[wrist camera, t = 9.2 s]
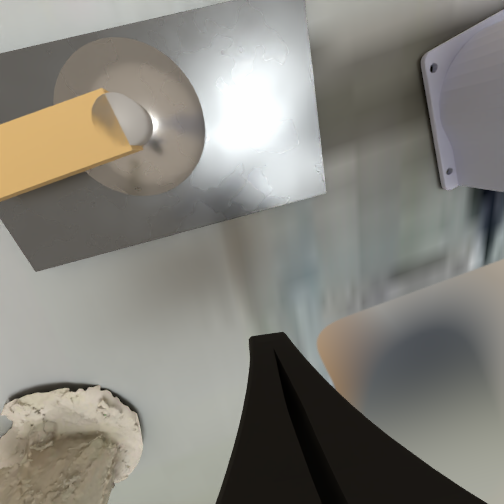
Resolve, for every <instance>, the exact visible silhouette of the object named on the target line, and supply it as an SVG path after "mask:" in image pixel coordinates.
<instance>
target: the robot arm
mask: <svg viewBox="0 0 504 504" xmlns="http://www.w3.org/2000/svg"><path fill="white" fill-rule="evenodd" d="M431 66H432V67H433V70H432V72H430V67H431ZM421 69H422V75H423V81H424V87H425V92H426V98H427V104H428V110H429V116H430V121H431V127H432V133H433V139H434V145H435V150H436V156H437V162H438V168H439V174H440V180H441V185H442V188H443V189H445V190H452V189H454V188H456V187H457V186H459V185H460V186H467V187H473V188H480V189H487V190H493V191H500V192H504V9H503V10H501V11H499V12H497V13H496V14H494V15H492V16H490V17H488V18H487V19H485V20H483V21H481V22H480V23H478V24H476V25H474V26H472V27H471V28H469V29H467V30H465V31H464V32H462V33H460V34H458V35H456V36H455V37H453V38H451V39H449V40H448V41H446V42H444V43H442V44H440V45H439V46H437V47H435V48H433V49H432V50H430V51H428V52H426V53H425V54H424V55H423V57H422V59H421ZM447 169H448V172H447V173H446V171H447ZM249 350H250V368H249V376H248V384H247V390H246V395H245V401H244V406H243V411H242V416H241V420H240V424H239V428H238V432H237V436H236V440H235V444H234V447H233V451H232V454H231V457H230V461H229V464H228V468H227V471H226V474H225V477H224V480H223V484H222V487H221V490H220V493H219V495H218V498H217V501H216V504H487V503H486V502H484V501H483V500H481V499H479V498H478V497H476V496H474V495H473V494H471V493H470V492H468V491H466V490H465V489H463V488H462V487H460V486H459V485H457V484H455V483H454V482H453V481H451V480H450V479H448V478H447V477H445V476H444V475H442V474H441V473H439V472H438V471H436V470H435V469H433V468H432V467H431V466H429V465H428V464H426V463H425V462H424V461H422V460H421V459H420V458H418V457H417V456H416V455H414V454H413V453H411V452H410V451H409V450H407V449H406V448H405V447H403V446H402V445H400V444H399V443H398V442H396V441H395V440H394V439H392V438H391V437H390V436H388V435H387V434H386V433H384V432H383V431H382V430H381V429H380V428H378V427H377V426H376V425H375V424H373V423H372V422H371V421H370V420H368V419H367V418H366V417H365V416H364V415H363V414H362V413H360V412H359V411H358V410H357V409H356V408H355V407H353V406H352V405H351V404H350V403H349V402H348V401H347V400H346V399H345V398H344V397H342V396H341V395H340V394H339V393H338V392H337V391H336V390H335V389H334V388H333V387H332V386H331V385H330V384H329V383H328V382H327V381H326V380H325V379H324V378H323V377H322V376H321V375H320V374H319V373H318V371H317V370H316V369H315V368H314V367H313V366H312V365H311V364H310V363H309V362H308V361H307V360H306V358H305V357H304V356H303V355H302V354H301V353H300V351H299V350H298V349H297V348H296V347H295V345H294V344H293V343H292V342H291V340H290V339H289V338H288V336H287V335H286V334H285V333H284V332H279V333H272V334H265V335H258V336H251V338H250V339H249Z"/></svg>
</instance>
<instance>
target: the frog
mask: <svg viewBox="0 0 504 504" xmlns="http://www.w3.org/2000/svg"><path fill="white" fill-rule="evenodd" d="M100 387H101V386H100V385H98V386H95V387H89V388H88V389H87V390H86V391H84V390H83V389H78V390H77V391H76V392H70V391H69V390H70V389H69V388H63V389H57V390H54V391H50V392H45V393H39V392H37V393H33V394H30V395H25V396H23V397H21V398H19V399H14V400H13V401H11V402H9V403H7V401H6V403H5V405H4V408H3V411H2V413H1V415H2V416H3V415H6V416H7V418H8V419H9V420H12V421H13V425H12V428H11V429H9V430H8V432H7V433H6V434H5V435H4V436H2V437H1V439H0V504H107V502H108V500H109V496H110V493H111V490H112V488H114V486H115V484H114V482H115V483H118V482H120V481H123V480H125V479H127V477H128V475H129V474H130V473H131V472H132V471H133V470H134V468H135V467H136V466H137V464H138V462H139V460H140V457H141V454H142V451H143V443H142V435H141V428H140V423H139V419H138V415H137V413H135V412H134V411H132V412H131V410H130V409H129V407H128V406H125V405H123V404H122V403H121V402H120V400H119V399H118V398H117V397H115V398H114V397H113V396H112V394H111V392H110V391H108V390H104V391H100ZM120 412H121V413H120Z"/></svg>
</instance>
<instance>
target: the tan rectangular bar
mask: <svg viewBox="0 0 504 504" xmlns="http://www.w3.org/2000/svg"><path fill="white" fill-rule="evenodd" d="M152 133H153V122H152V119H151V116H150V114H149V113H148V112H147V110H146V109H145V108H144V107H143V106H141V105H140V104H138V103H136V102H135V101H133V100H132V99H130V98H128V97H127V96H125V95H123V94H120V93H116V92H108V91H107V90H105V89H103V88H100V89H97V90H95V91H92V92H89V93H86V94H84V95H81V96H78V97H75V98H72V99H70V100H67V101H64V102H61V103H59V104H56V105H53V106H50V107H47V108H45V109H42V110H39V111H36V112H34V113H31V114H28V115H25V116H22V117H20V118H17V119H14V120H11V121H9V122H6V123H3V124H0V202H1V201H4V200H7V199H9V198H12V197H15V196H18V195H20V194H23V193H26V192H29V191H31V190H34V189H37V188H40V187H42V186H45V185H48V184H51V183H53V182H56V181H59V180H62V179H64V178H67V177H70V176H73V175H75V174H78V173H81V172H84V171H86V170H89V169H92V168H95V167H97V166H100V165H103V164H106V163H108V162H111V161H114V160H117V159H119V158H122V157H125V156H128V155H130V154H133V153H136V152H139V151H141V150H144V149H143V147H142V145H144V144H146V143H147V142H148V141H149V140H150V138H151V136H152Z"/></svg>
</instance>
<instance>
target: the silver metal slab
mask: <svg viewBox="0 0 504 504" xmlns="http://www.w3.org/2000/svg"><path fill="white" fill-rule="evenodd" d="M100 88H103V89H105V90H107V91H108V92H116V93H120V94H123V95H125V96H127V97H128V98H130V99H132V100H133V101H135V102H136V103H138V104H140V105H141V106H143V107H144V108H145V109H146V110H147V112H148V113H149V114H150V116H151V119H152V122H153V133H152V136H151V138H150V140H149V141H148V142H147V143H146V144H144V145H142V147H143V149H144V150H141V151H139V152H136V153H133V154H130V155H128V156H125V157H122V158H119V159H117V160H114V161H111V162H108V163H106V164H103V165H100V166H97V167H95V168H92V169H89V170H86V171H84V172H81V173H78V174H75V175H73V176H70V177H67V178H64V179H62V180H59V181H56V182H53V183H51V184H48V185H45V186H42V187H40V188H37V189H34V190H31V191H29V192H26V193H23V194H20V195H18V196H15V197H12V198H9V199H7V200H4V201H1V202H0V219H1V220H2V222H3V223H4V225H5V226H6V228H7V229H8V231H9V232H10V234H11V235H12V237H13V238H14V240H15V241H16V243H17V244H18V246H19V247H20V249H21V250H22V252H23V253H24V255H25V256H26V258H27V259H28V261H29V262H30V264H31V265H32V267H33V268H34V270H35V271H36V272H37V271H40V270H44V269H48V268H52V267H55V266H59V265H63V264H66V263H70V262H74V261H77V260H81V259H85V258H89V257H92V256H96V255H100V254H103V253H107V252H111V251H114V250H118V249H122V248H126V247H129V246H133V245H137V244H140V243H144V242H148V241H151V240H155V239H159V238H163V237H166V236H170V235H174V234H177V233H181V232H185V231H188V230H192V229H196V228H200V227H203V226H207V225H211V224H214V223H218V222H222V221H225V220H229V219H233V218H237V217H240V216H244V215H248V214H251V213H255V212H259V211H262V210H266V209H270V208H274V207H277V206H281V205H285V204H288V203H292V202H296V201H299V200H303V199H307V198H311V197H314V196H318V195H322V194H325V193H326V185H325V176H324V167H323V158H322V149H321V140H320V131H319V122H318V114H317V105H316V96H315V87H314V78H313V69H312V60H311V51H310V42H309V33H308V24H307V15H306V6H305V0H233V1H228V2H224V3H219V4H215V5H211V6H206V7H202V8H197V9H193V10H189V11H184V12H180V13H176V14H171V15H167V16H162V17H158V18H154V19H149V20H145V21H141V22H136V23H132V24H127V25H123V26H119V27H114V28H110V29H106V30H101V31H97V32H92V33H88V34H84V35H79V36H75V37H71V38H66V39H62V40H57V41H53V42H49V43H44V44H40V45H36V46H31V47H27V48H22V49H18V50H14V51H9V52H5V53H1V54H0V124H3V123H6V122H9V121H11V120H14V119H17V118H20V117H22V116H25V115H28V114H31V113H34V112H36V111H39V110H42V109H45V108H47V107H50V106H53V105H56V104H59V103H61V102H64V101H67V100H70V99H72V98H75V97H78V96H81V95H84V94H86V93H89V92H92V91H95V90H97V89H100Z"/></svg>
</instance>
